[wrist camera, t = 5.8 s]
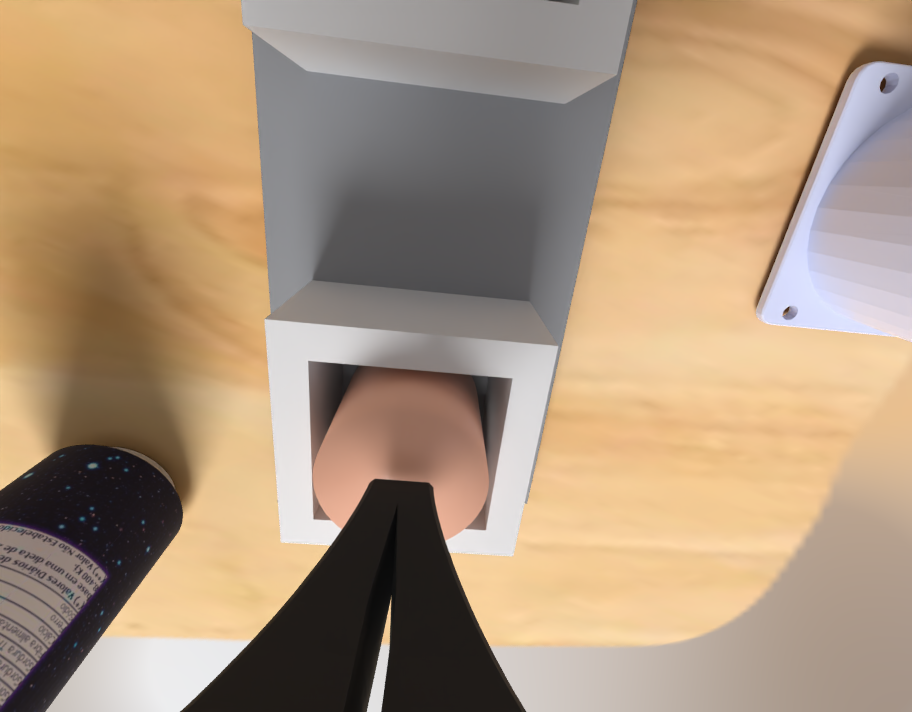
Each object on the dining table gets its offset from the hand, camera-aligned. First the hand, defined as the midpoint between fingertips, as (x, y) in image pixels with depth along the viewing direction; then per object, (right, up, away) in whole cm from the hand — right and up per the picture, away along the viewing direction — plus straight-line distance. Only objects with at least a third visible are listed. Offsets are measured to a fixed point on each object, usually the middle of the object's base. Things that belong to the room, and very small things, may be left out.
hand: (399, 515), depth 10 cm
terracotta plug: (0, +2, +5) cm, 5 cm away
